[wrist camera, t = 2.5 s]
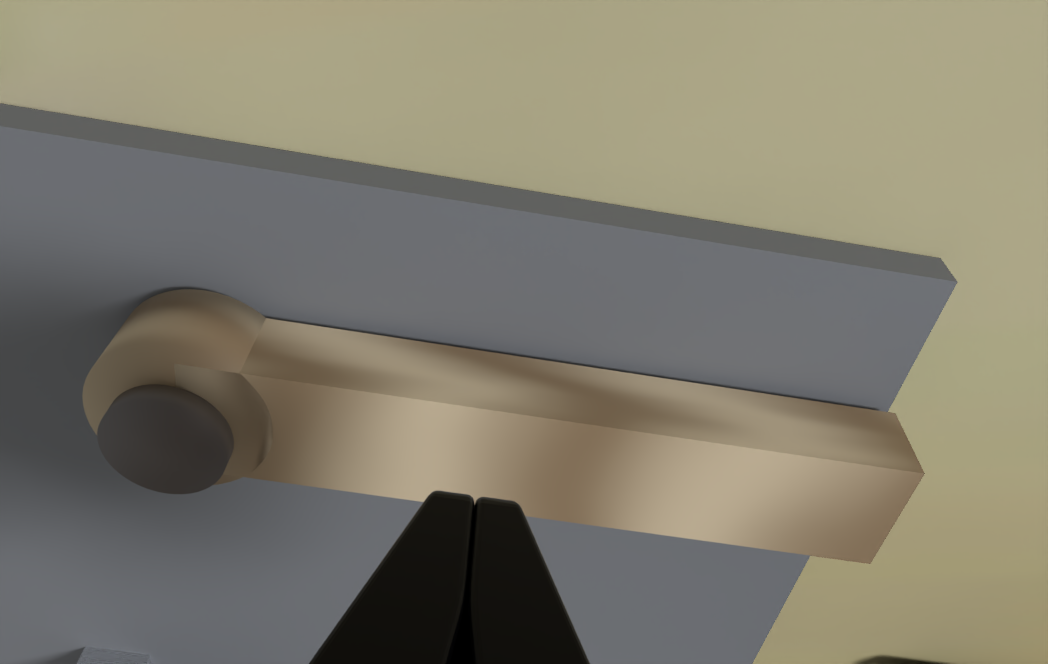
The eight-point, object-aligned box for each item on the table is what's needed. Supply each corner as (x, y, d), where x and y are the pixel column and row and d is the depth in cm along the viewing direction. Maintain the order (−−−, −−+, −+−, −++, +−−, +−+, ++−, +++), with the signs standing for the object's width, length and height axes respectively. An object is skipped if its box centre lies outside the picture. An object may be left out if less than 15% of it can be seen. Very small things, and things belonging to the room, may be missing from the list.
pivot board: (940, 258, 19) (957, 281, 19) (652, 817, 34) (654, 844, 34) (-227, 66, 18) (-264, 83, 17) (3, 742, 33) (-12, 769, 32)
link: (132, 411, 21) (75, 503, 19) (113, 273, 19) (47, 357, 16) (838, 511, 23) (873, 610, 20) (902, 394, 20) (951, 489, 18)
